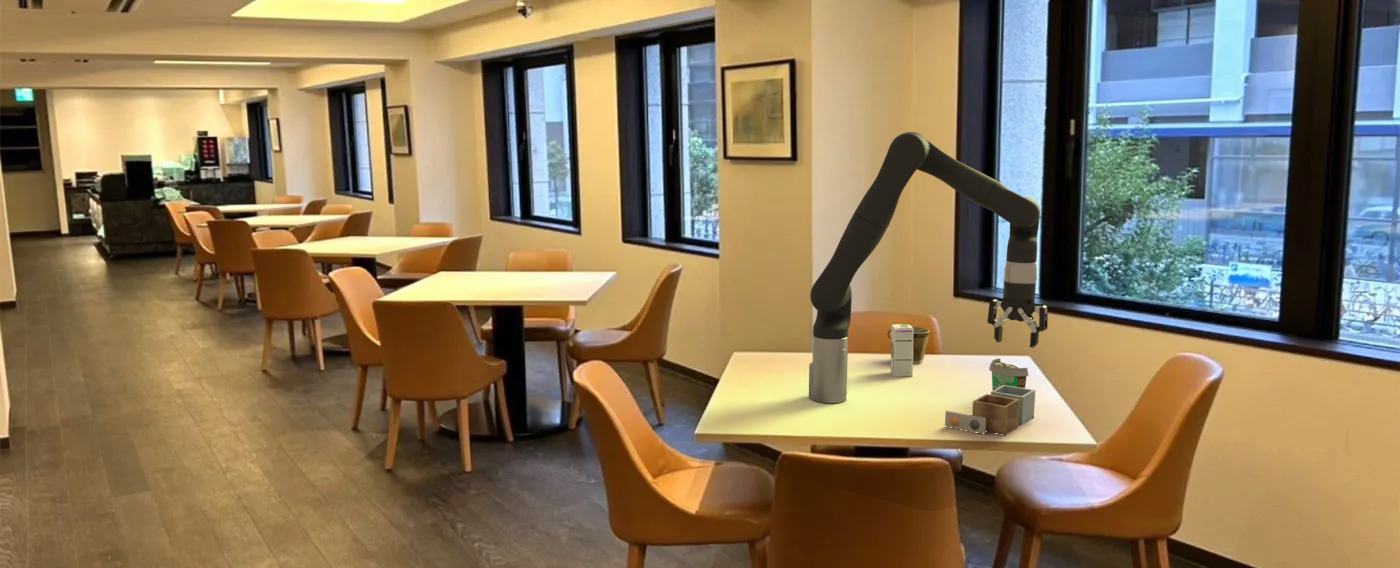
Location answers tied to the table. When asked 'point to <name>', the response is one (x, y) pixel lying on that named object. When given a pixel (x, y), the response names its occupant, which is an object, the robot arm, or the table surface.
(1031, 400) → the slate bin
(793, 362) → the table surface
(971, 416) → the card
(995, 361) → the food container
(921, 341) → the ceramic cup
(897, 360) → the syrup box
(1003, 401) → the brown bin
